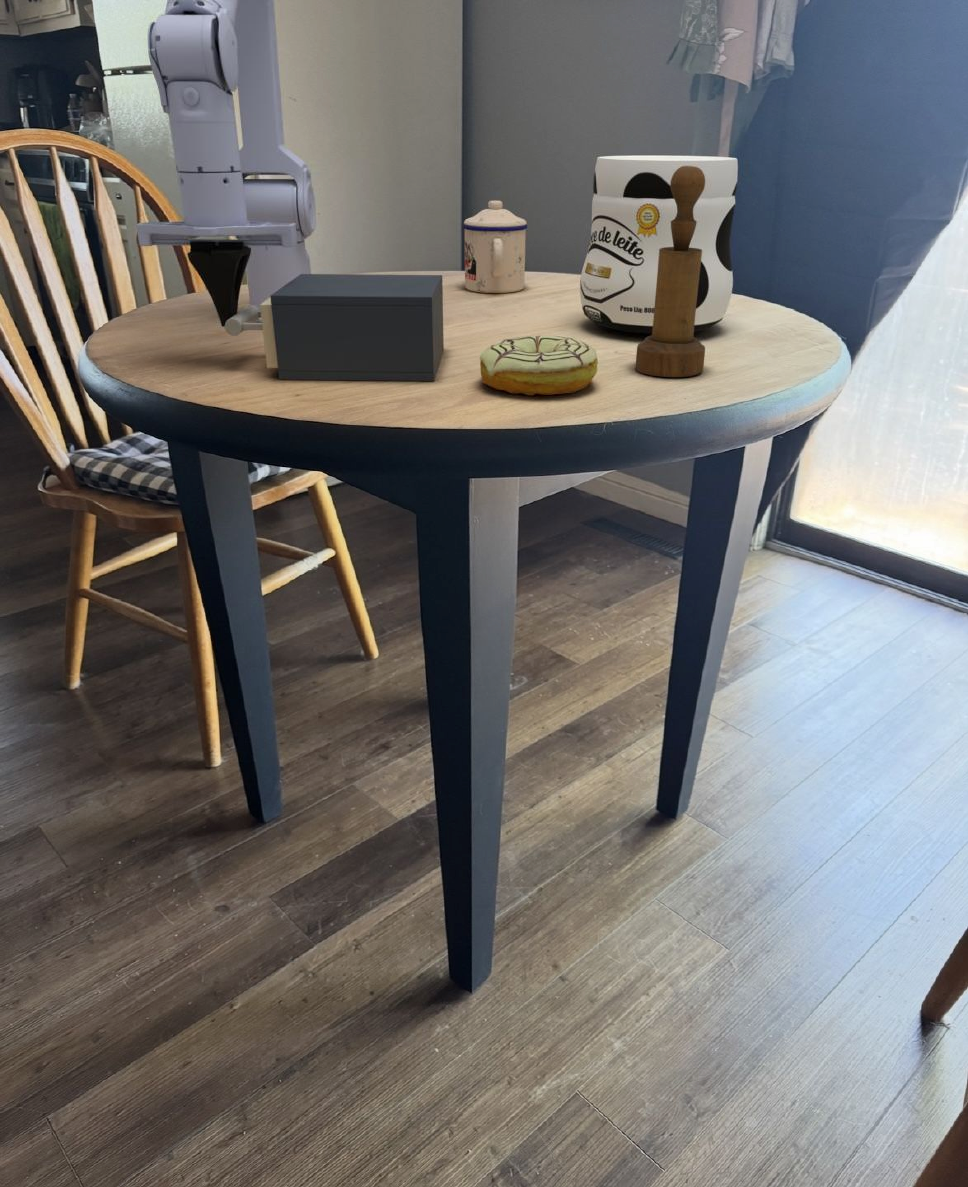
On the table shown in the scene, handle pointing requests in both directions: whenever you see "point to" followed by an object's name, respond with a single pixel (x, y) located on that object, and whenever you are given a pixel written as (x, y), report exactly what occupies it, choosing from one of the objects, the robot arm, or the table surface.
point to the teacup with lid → (495, 251)
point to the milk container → (654, 238)
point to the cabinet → (359, 327)
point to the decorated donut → (539, 365)
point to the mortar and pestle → (676, 290)
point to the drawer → (256, 327)
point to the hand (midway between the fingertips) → (229, 324)
